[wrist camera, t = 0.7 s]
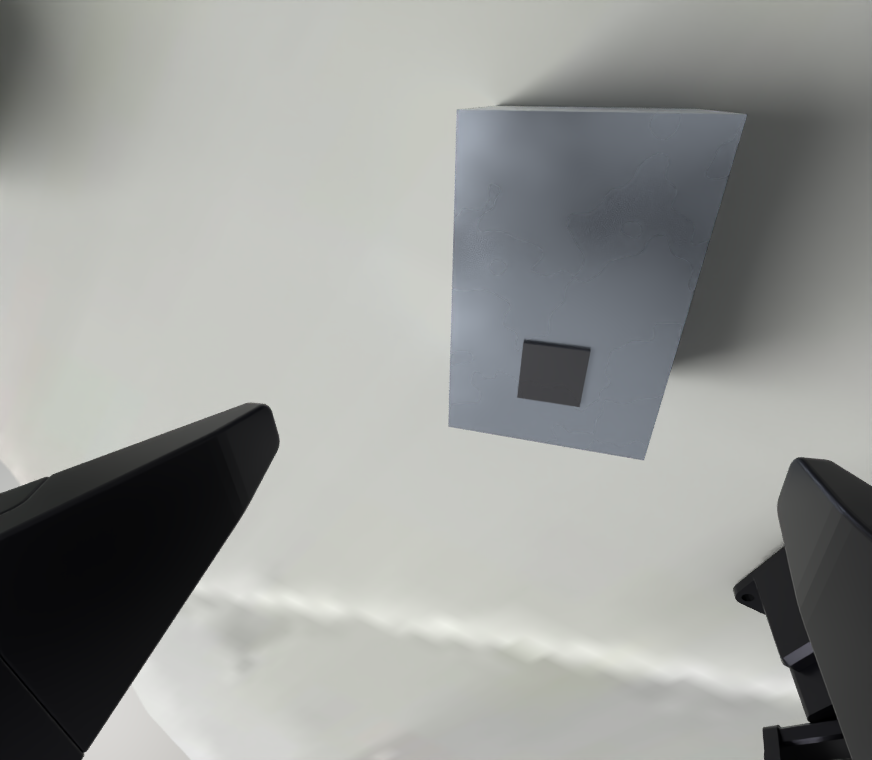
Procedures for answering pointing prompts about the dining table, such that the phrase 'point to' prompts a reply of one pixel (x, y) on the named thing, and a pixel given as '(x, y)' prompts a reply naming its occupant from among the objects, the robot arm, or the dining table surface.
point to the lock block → (578, 265)
